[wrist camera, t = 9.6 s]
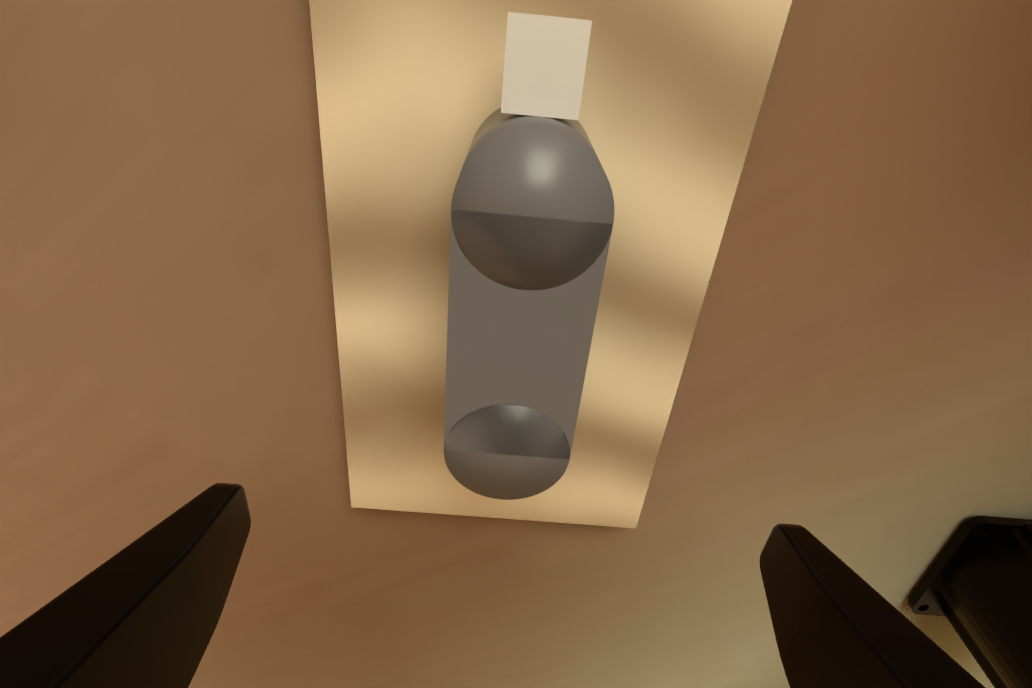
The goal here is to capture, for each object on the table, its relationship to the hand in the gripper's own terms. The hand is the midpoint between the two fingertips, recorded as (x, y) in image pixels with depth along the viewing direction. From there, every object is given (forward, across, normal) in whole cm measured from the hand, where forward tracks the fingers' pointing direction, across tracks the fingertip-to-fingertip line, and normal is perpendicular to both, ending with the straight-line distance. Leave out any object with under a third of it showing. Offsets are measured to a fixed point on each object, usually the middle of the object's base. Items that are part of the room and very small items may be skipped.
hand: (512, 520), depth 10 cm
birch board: (+11, 0, 0) cm, 11 cm away
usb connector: (+10, 0, 0) cm, 10 cm away
